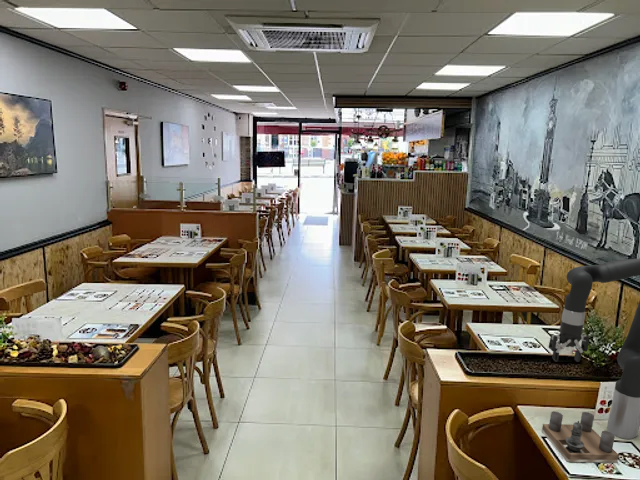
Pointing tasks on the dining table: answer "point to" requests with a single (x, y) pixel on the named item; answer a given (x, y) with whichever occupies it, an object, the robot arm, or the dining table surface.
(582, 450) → the wooden peg stand
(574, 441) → the grey chess piece
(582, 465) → the dining table surface
